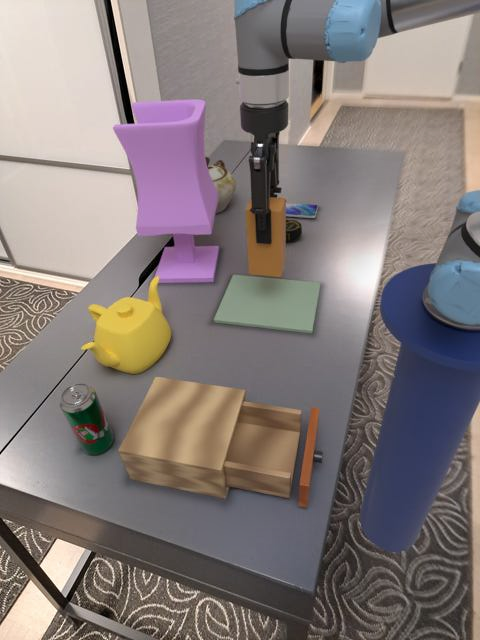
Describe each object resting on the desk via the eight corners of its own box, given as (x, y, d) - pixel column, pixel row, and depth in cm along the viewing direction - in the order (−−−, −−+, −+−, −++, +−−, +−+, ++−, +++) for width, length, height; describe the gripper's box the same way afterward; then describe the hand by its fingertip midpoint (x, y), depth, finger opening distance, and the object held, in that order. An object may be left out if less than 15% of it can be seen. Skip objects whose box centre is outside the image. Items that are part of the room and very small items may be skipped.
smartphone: (266, 201, 128) (318, 204, 124) (266, 204, 128) (318, 207, 125) (260, 212, 122) (315, 216, 119) (261, 215, 123) (315, 219, 119)
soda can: (97, 425, 73) (75, 376, 65) (121, 436, 71) (101, 387, 63) (75, 449, 69) (49, 401, 62) (100, 461, 67) (76, 413, 60)
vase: (162, 249, 113) (132, 102, 90) (223, 247, 112) (208, 98, 89) (149, 285, 101) (111, 127, 79) (217, 284, 100) (198, 123, 77)
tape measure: (285, 228, 117) (285, 216, 115) (306, 236, 114) (307, 223, 111) (269, 239, 113) (269, 226, 111) (291, 247, 110) (291, 234, 107)
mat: (320, 285, 97) (320, 282, 97) (312, 333, 86) (312, 330, 85) (233, 277, 102) (233, 274, 101) (213, 322, 90) (213, 319, 90)
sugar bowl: (220, 227, 120) (214, 173, 110) (172, 219, 125) (163, 167, 115) (248, 196, 133) (245, 146, 123) (204, 190, 138) (198, 141, 128)
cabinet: (248, 420, 72) (245, 389, 67) (226, 499, 62) (221, 470, 57) (164, 406, 75) (155, 376, 70) (130, 479, 65) (117, 450, 60)
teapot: (132, 305, 96) (120, 264, 89) (193, 323, 90) (186, 280, 83) (61, 375, 82) (40, 332, 75) (128, 401, 76) (112, 357, 69)
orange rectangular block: (285, 262, 89) (286, 197, 80) (281, 277, 86) (281, 211, 76) (254, 259, 91) (251, 196, 82) (248, 274, 87) (245, 209, 78)
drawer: (325, 432, 68) (327, 409, 64) (316, 510, 59) (318, 488, 55) (232, 417, 71) (230, 394, 67) (210, 488, 62) (206, 466, 58)
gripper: (252, 85, 75) (257, 210, 90) (224, 119, 62) (235, 259, 77) (296, 85, 74) (294, 212, 89) (277, 120, 60) (278, 262, 76)
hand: (267, 234), depth 83 cm, fingers closed on orange rectangular block, 5 cm apart
